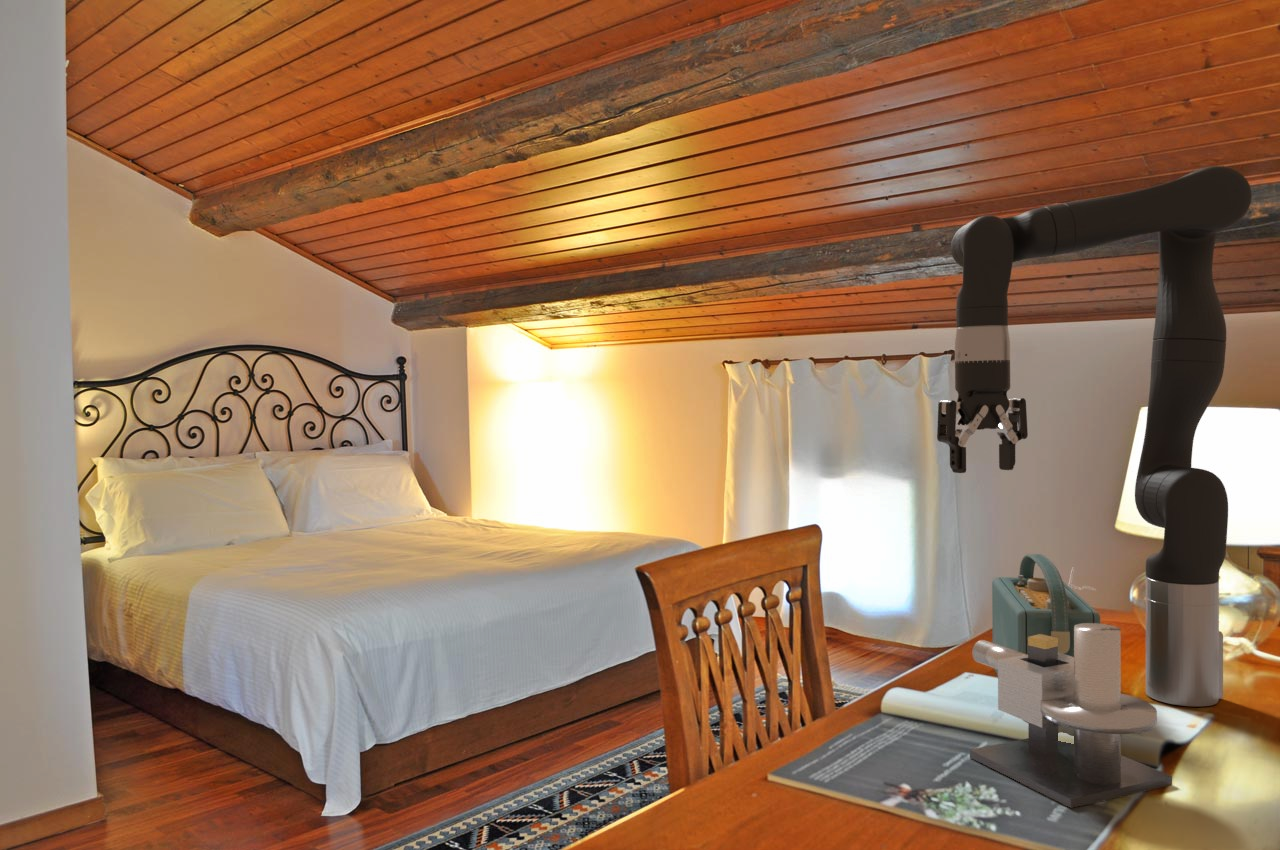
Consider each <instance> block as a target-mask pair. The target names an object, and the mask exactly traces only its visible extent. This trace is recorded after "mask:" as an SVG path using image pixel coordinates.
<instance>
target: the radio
mask: <svg viewBox="0 0 1280 850" xmlns="http://www.w3.org/2000/svg"><path fill="white" fill-rule="evenodd" d="M1036 564H1037V566H1038V567H1039V568H1040V570H1041V572H1042V574H1043V576H1044V577H1034V575H1035V574H1034V573H1035V572H1034V571H1035V565H1036ZM991 586H992V587H991V592H992V594H991V596H992V598H991V599H992V603H991V604H992V607H991V608H992V611H991V612H992V613H991V615H992V619H991V620H992V622H991V623H992V624H991V625H992V626H991V627H992V643H994V644H997V645H1000V646H1003V647H1006V648H1009V649H1012V650H1015V651H1018V652H1021V653H1024V654H1027V655H1028V637H1030V636H1034V635H1038V634H1043V635H1047V636H1052V637H1056V638H1058V652H1059V653H1062V654H1065V655H1068V656H1072V657H1074V626H1075V625H1077V624H1082V623H1098V624H1101V615H1100V614H1099V612H1098V611H1096V609H1094V608H1093V607H1092V606H1091V605H1090V604H1088V602H1087V601H1085V599H1083V598H1082V597H1081V596H1080V595H1079V594H1078V593H1077V592H1075V591H1074V590H1073V588H1072V589H1071V588H1070V587H1069V586H1068V584H1067V583H1066V582H1064V580H1063V578H1062V577H1061V573H1060V571H1059V570H1058V568H1057V566H1056V565H1055V564H1054V563H1053V561H1052V560H1051V559H1049V558H1048V557H1047V556H1046V555H1044V554H1041V553H1037V554H1036V553H1027V554H1025V555H1024V556H1023V558H1022V559H1021V561H1020V565H1019V573H1018V577H1017V576H1016V577H1012V576H1011V577H1009V576H1008V577H1007V576H1006V577H1005V576H999V577H998V576H997V577H994V578H993V579H992V581H991ZM993 669H994V671H995V673H996V675H997V676H998V669H995V668H993Z"/></svg>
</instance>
